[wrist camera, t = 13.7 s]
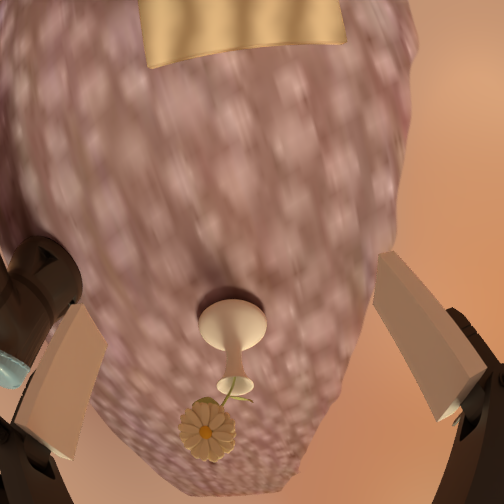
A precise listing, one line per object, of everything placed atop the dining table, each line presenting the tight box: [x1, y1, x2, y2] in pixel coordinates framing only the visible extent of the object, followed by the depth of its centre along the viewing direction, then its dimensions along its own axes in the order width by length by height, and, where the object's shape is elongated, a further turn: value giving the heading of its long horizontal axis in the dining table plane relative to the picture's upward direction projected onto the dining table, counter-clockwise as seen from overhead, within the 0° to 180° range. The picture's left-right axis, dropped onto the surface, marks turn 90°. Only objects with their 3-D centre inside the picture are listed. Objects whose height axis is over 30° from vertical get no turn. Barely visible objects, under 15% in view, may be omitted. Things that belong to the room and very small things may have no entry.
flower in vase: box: [178, 299, 267, 462], centre depth 36 cm, size 13×11×25 cm
